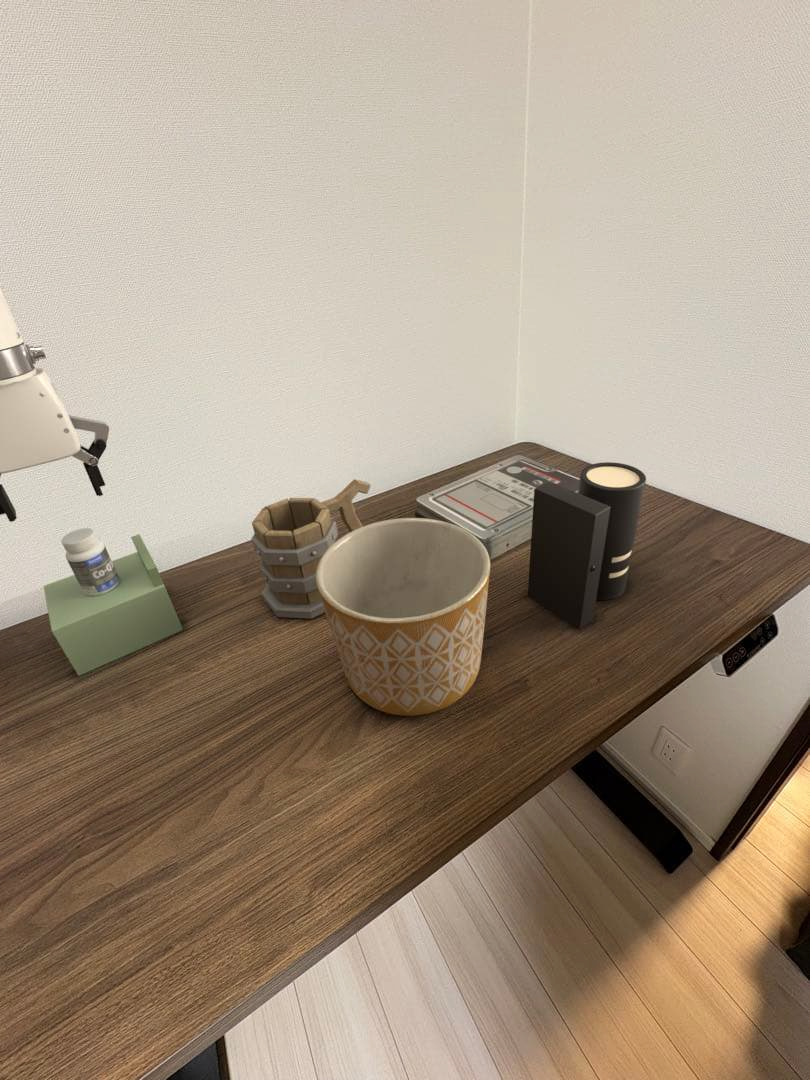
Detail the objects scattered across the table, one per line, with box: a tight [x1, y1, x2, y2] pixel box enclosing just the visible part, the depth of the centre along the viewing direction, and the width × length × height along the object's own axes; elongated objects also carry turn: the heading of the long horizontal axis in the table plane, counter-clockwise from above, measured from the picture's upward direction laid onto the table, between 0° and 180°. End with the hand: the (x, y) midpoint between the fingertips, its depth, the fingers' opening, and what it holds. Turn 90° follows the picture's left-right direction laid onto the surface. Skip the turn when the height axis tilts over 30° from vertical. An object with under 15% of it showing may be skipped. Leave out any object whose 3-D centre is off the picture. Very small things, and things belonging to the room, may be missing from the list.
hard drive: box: [414, 454, 580, 561], centre depth 96 cm, size 18×27×4 cm
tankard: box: [250, 478, 372, 620], centre depth 80 cm, size 20×13×15 cm, turn 126°
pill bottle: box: [61, 527, 120, 596], centre depth 72 cm, size 5×5×8 cm
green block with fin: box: [43, 534, 184, 677], centre depth 75 cm, size 14×12×11 cm
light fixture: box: [526, 461, 647, 630], centre depth 72 cm, size 10×14×18 cm
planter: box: [316, 517, 491, 717], centre depth 63 cm, size 19×19×16 cm
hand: (57, 504), depth 66 cm, fingers open, 9 cm apart
